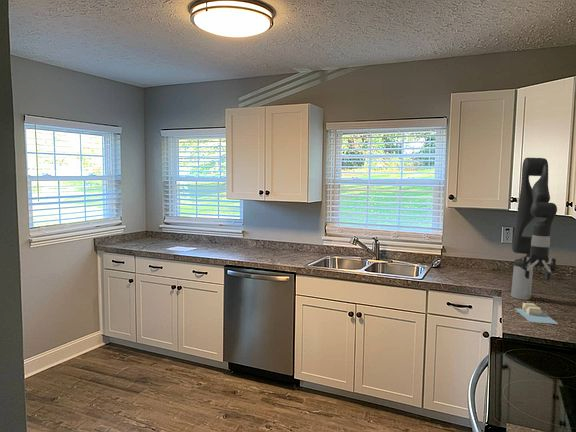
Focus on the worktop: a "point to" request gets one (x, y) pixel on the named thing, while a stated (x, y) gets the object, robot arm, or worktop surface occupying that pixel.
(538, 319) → the mat
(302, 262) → the worktop surface
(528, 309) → the cream notched block
